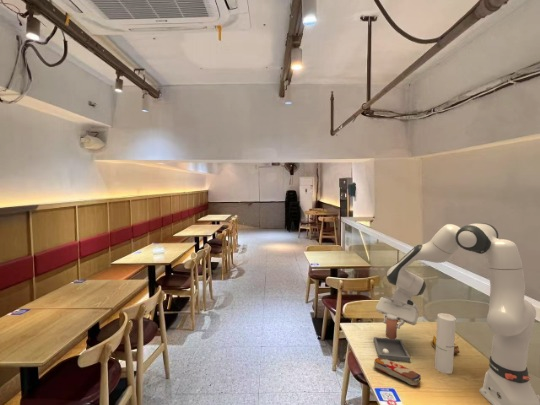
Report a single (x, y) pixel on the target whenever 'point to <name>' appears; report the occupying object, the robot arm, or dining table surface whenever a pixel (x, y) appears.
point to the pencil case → (397, 371)
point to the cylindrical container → (445, 343)
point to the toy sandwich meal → (433, 342)
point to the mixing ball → (385, 351)
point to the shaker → (391, 326)
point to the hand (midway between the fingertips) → (391, 325)
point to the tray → (391, 349)
